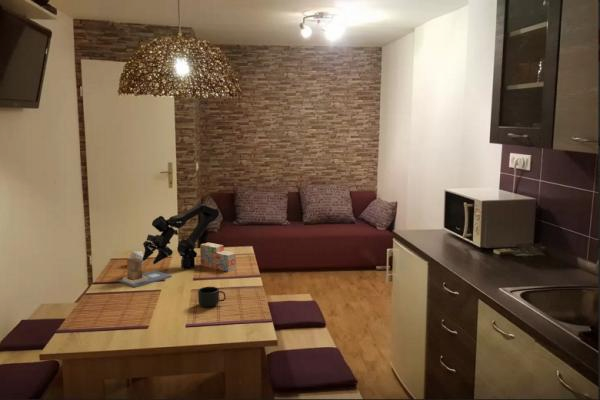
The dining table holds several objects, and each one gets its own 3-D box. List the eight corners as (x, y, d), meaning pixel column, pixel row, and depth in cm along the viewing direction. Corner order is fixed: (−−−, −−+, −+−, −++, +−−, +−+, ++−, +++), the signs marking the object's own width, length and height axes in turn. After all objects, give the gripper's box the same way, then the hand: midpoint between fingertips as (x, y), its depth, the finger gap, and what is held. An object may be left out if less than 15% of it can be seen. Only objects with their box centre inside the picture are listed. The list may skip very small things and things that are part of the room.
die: (138, 269, 279) (147, 254, 282) (124, 261, 278) (133, 246, 281) (140, 270, 287) (149, 255, 289) (126, 263, 286) (135, 248, 289)
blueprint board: (155, 271, 273) (155, 267, 272) (171, 276, 264) (171, 272, 263) (118, 281, 256) (118, 277, 255) (134, 287, 247) (134, 282, 247)
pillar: (136, 276, 258) (135, 257, 257) (142, 278, 255) (141, 259, 254) (127, 279, 255) (126, 260, 253) (133, 281, 251) (132, 261, 250)
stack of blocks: (236, 269, 278) (235, 247, 276) (228, 272, 273) (227, 250, 271) (208, 262, 290) (208, 242, 288) (200, 265, 285) (199, 244, 283)
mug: (196, 309, 220) (196, 293, 219) (200, 301, 229) (199, 286, 228) (224, 308, 220) (224, 293, 219) (227, 301, 229) (226, 286, 228)
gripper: (145, 225, 267) (127, 250, 261) (166, 230, 256) (149, 256, 249) (158, 237, 275) (141, 261, 268) (180, 243, 263) (163, 268, 256)
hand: (148, 262), depth 260 cm, fingers open, 9 cm apart
